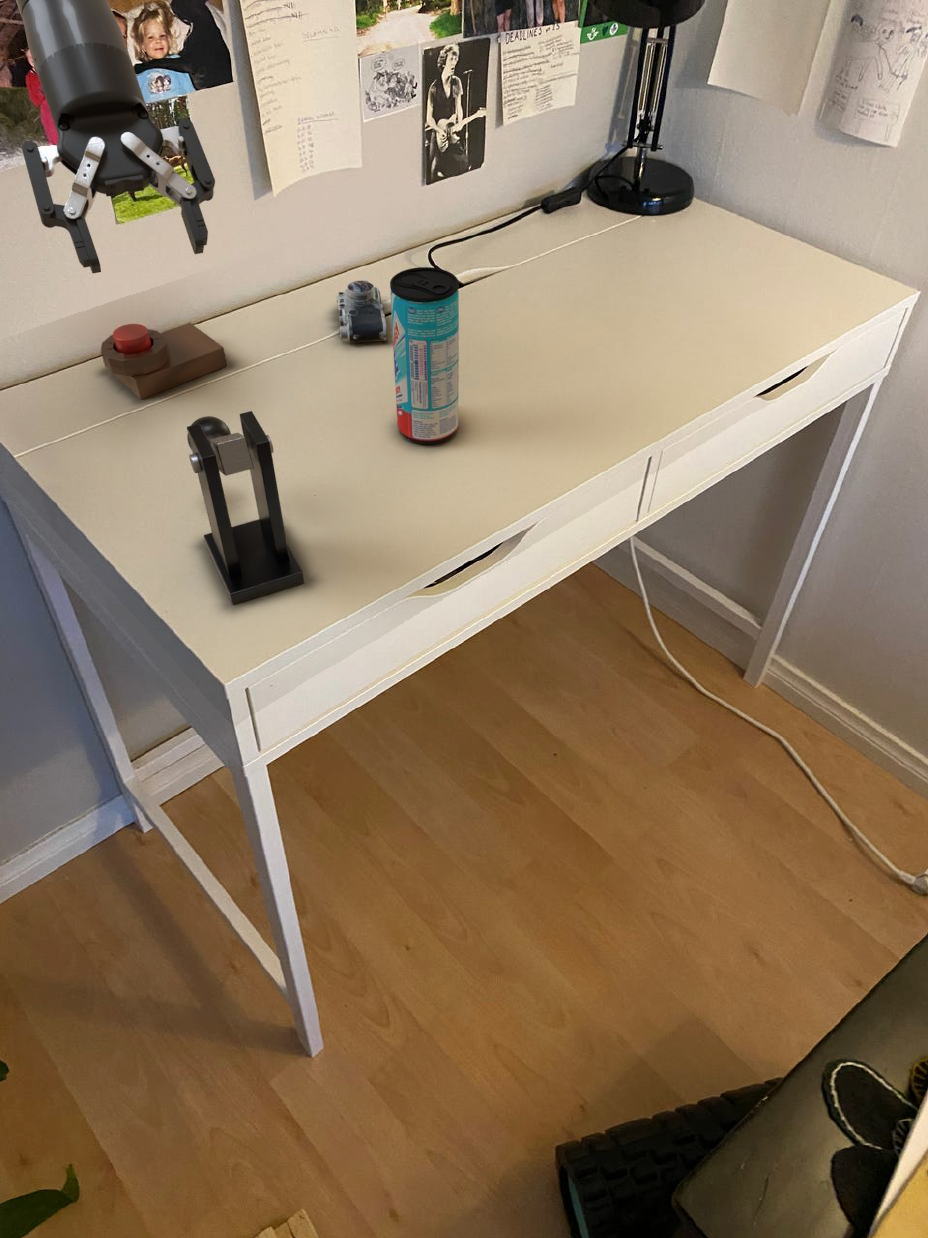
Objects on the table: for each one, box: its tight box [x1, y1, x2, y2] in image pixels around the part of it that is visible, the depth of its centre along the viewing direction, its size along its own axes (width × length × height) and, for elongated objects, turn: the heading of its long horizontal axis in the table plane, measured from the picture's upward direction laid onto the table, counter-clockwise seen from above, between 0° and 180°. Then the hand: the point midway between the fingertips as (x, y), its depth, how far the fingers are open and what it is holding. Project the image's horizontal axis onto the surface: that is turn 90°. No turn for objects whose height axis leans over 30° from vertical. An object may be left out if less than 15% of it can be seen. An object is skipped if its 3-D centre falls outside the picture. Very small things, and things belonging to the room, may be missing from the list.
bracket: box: [186, 410, 305, 605], centre depth 74 cm, size 8×6×13 cm
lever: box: [186, 415, 254, 477], centre depth 76 cm, size 13×4×4 cm, turn 26°
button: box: [112, 323, 151, 354], centre depth 96 cm, size 3×3×2 cm
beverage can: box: [389, 266, 460, 445], centre depth 87 cm, size 6×6×15 cm
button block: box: [100, 322, 228, 400], centre depth 99 cm, size 11×7×4 cm, turn 131°
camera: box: [336, 280, 389, 343], centre depth 106 cm, size 5×10×4 cm, turn 8°
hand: (149, 259), depth 79 cm, fingers open, 8 cm apart
